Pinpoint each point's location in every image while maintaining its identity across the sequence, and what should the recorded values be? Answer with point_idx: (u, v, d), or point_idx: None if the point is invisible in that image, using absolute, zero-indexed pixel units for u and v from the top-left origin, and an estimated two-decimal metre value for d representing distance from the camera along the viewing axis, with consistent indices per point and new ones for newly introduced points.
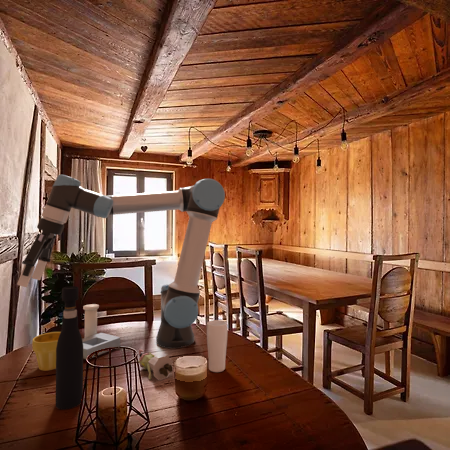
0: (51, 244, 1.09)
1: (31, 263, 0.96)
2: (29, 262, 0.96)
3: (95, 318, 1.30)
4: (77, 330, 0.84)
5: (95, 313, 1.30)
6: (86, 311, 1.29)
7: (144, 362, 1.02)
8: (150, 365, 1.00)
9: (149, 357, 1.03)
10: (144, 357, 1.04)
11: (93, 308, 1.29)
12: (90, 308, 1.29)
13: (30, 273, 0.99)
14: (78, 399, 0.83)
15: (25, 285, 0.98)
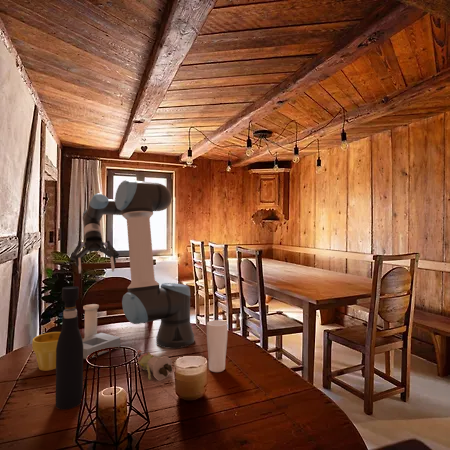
0: (99, 245, 1.49)
1: (71, 256, 1.41)
2: None
3: (95, 318, 1.30)
4: (77, 330, 0.84)
5: (95, 313, 1.30)
6: (86, 311, 1.29)
7: (143, 362, 1.02)
8: (149, 365, 0.99)
9: (148, 357, 1.03)
10: (143, 357, 1.03)
11: (93, 308, 1.29)
12: (90, 308, 1.29)
13: (78, 262, 1.40)
14: (78, 399, 0.83)
15: (79, 269, 1.37)
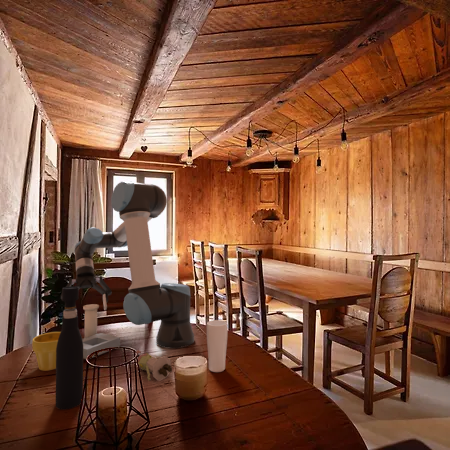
0: (91, 281, 1.44)
1: (61, 295, 1.35)
2: (61, 296, 1.35)
3: (95, 318, 1.30)
4: (77, 330, 0.84)
5: (95, 313, 1.30)
6: (86, 311, 1.29)
7: (142, 363, 1.02)
8: (149, 366, 0.99)
9: (147, 358, 1.03)
10: (142, 358, 1.03)
11: (93, 308, 1.29)
12: (90, 308, 1.29)
13: None
14: (78, 399, 0.83)
15: None
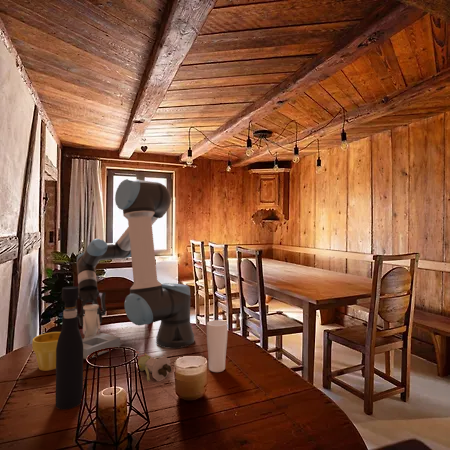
0: (92, 296, 1.37)
1: None
2: None
3: (95, 318, 1.30)
4: (77, 330, 0.84)
5: (95, 313, 1.30)
6: (86, 311, 1.29)
7: (141, 364, 1.01)
8: (148, 366, 0.99)
9: (146, 358, 1.02)
10: (140, 359, 1.02)
11: (93, 308, 1.29)
12: (90, 308, 1.29)
13: (83, 321, 1.28)
14: (78, 399, 0.83)
15: (83, 330, 1.26)
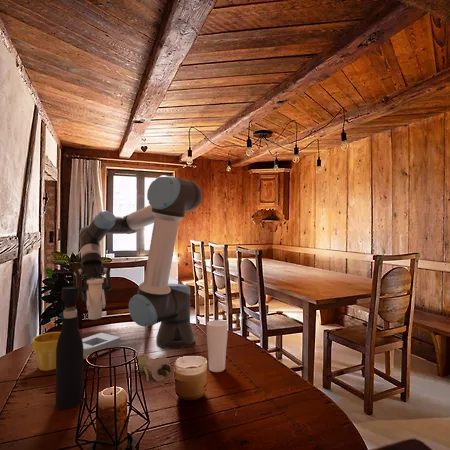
0: (96, 270, 1.26)
1: None
2: None
3: (100, 293, 1.19)
4: (77, 330, 0.84)
5: (100, 288, 1.19)
6: (90, 285, 1.18)
7: (139, 364, 1.01)
8: (147, 367, 0.98)
9: (144, 359, 1.02)
10: (139, 359, 1.02)
11: (98, 282, 1.18)
12: (94, 282, 1.18)
13: (86, 296, 1.17)
14: (78, 399, 0.83)
15: (87, 305, 1.15)
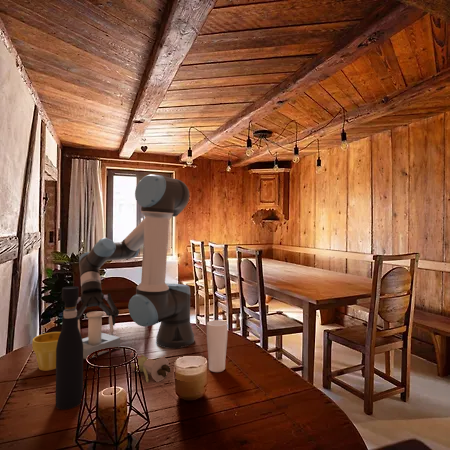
0: (98, 299, 1.26)
1: None
2: None
3: (100, 326, 1.19)
4: (77, 330, 0.84)
5: (100, 321, 1.19)
6: (90, 319, 1.18)
7: None
8: (146, 367, 0.98)
9: (143, 359, 1.01)
10: None
11: (97, 316, 1.18)
12: (94, 316, 1.17)
13: None
14: (78, 399, 0.83)
15: None
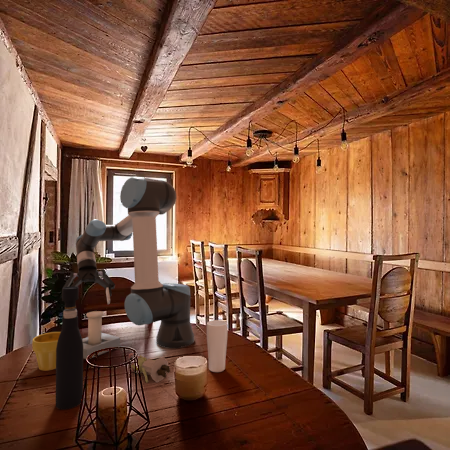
0: (93, 275, 1.38)
1: None
2: None
3: (99, 326, 1.19)
4: (77, 330, 0.84)
5: (99, 321, 1.19)
6: (90, 319, 1.18)
7: None
8: (145, 368, 0.98)
9: (141, 360, 1.01)
10: None
11: (97, 316, 1.18)
12: (94, 316, 1.17)
13: None
14: (78, 399, 0.83)
15: None
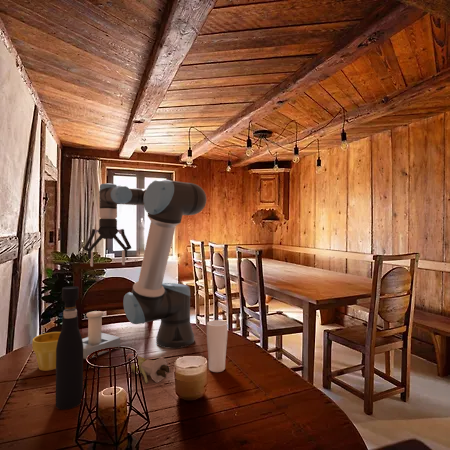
0: (113, 235, 1.45)
1: (84, 248, 1.40)
2: (83, 248, 1.40)
3: (99, 326, 1.19)
4: (77, 330, 0.84)
5: (99, 321, 1.19)
6: (90, 319, 1.18)
7: (136, 366, 0.99)
8: (144, 368, 0.97)
9: (140, 361, 1.00)
10: None
11: (97, 316, 1.18)
12: (94, 316, 1.17)
13: (91, 256, 1.41)
14: (78, 399, 0.83)
15: (90, 265, 1.41)
